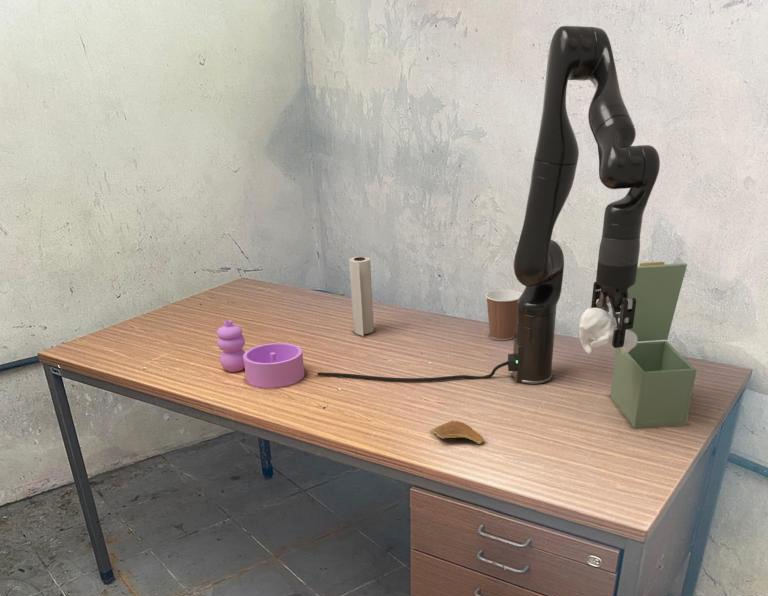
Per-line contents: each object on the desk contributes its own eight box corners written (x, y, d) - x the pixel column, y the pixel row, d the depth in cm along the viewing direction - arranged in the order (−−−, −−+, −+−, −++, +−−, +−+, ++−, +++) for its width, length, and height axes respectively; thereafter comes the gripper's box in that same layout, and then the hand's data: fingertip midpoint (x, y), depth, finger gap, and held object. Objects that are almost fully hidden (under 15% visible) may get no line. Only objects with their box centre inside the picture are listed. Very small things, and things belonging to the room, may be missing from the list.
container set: (315, 370, 204) (310, 322, 197) (281, 391, 193) (275, 341, 186) (242, 357, 215) (235, 311, 208) (206, 376, 204) (197, 328, 197)
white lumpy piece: (585, 302, 157) (644, 312, 154) (577, 341, 162) (635, 351, 159) (580, 311, 152) (641, 321, 149) (572, 351, 157) (631, 362, 154)
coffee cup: (526, 333, 220) (528, 291, 214) (511, 344, 213) (513, 302, 207) (494, 328, 225) (495, 287, 219) (478, 339, 218) (479, 297, 212)
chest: (686, 424, 167) (696, 369, 160) (634, 428, 167) (642, 373, 160) (658, 392, 182) (666, 340, 175) (610, 395, 182) (616, 343, 175)
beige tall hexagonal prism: (362, 326, 232) (357, 254, 220) (378, 329, 229) (374, 257, 217) (347, 333, 227) (342, 260, 215) (363, 337, 224) (359, 263, 212)
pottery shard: (485, 444, 164) (486, 434, 162) (445, 452, 162) (445, 441, 160) (467, 424, 172) (467, 414, 171) (428, 431, 170) (428, 421, 169)
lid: (687, 264, 161) (679, 253, 165) (632, 268, 161) (626, 257, 165) (667, 339, 175) (660, 328, 178) (617, 343, 174) (611, 331, 178)
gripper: (654, 266, 143) (642, 350, 151) (619, 248, 154) (610, 327, 163) (616, 270, 141) (606, 354, 150) (584, 252, 153) (577, 331, 162)
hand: (608, 340), depth 157 cm, fingers closed on white lumpy piece, 7 cm apart
